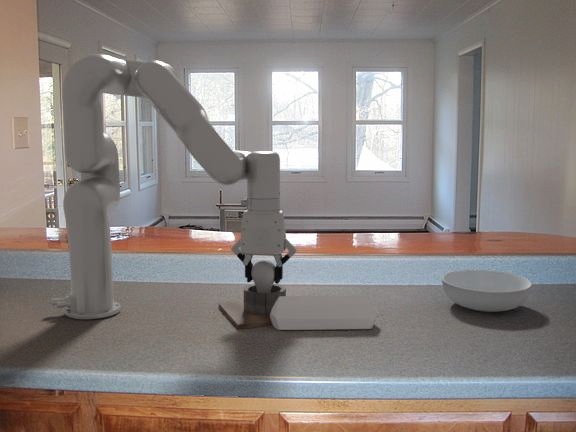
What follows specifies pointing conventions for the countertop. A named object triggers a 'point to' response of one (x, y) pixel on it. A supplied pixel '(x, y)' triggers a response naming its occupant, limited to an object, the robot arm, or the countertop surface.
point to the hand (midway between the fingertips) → (263, 280)
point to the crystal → (323, 312)
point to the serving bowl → (486, 289)
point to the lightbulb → (263, 276)
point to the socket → (253, 307)
